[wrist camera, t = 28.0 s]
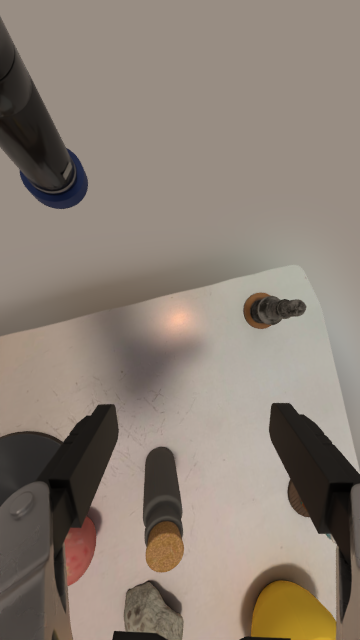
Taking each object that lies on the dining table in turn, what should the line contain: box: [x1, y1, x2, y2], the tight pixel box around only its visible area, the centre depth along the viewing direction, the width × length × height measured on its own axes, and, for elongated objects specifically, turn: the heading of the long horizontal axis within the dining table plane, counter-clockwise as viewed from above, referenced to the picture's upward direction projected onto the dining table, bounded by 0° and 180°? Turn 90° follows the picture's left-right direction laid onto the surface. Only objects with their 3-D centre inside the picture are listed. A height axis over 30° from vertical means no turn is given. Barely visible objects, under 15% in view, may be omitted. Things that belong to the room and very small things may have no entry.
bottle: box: [143, 447, 184, 572], centre depth 30 cm, size 6×6×15 cm
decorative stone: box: [124, 582, 183, 640], centre depth 34 cm, size 12×11×5 cm
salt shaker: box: [250, 296, 306, 325], centre depth 34 cm, size 6×6×12 cm
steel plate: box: [0, 432, 63, 506], centre depth 33 cm, size 20×20×1 cm
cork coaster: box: [244, 293, 271, 329], centre depth 41 cm, size 8×8×1 cm
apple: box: [64, 517, 96, 586], centre depth 31 cm, size 7×7×8 cm
